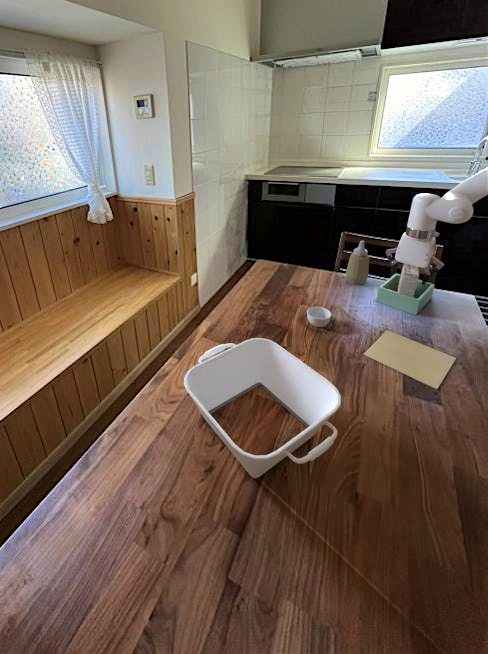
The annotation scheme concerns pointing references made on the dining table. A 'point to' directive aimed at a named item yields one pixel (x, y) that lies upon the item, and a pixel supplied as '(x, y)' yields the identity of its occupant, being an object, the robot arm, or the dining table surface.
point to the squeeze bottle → (358, 266)
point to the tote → (403, 300)
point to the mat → (411, 358)
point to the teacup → (318, 316)
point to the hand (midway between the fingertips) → (408, 278)
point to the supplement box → (408, 280)
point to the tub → (278, 380)
